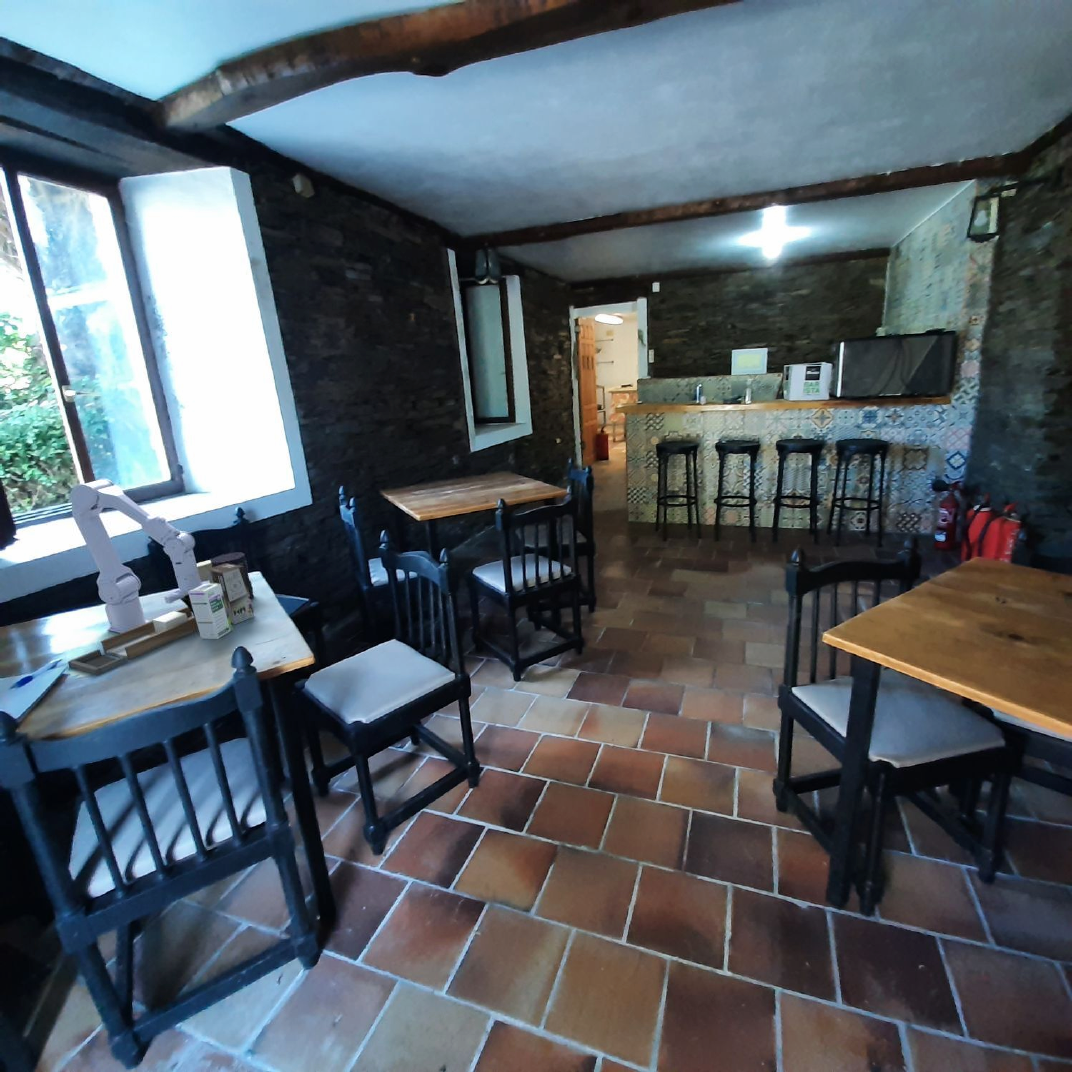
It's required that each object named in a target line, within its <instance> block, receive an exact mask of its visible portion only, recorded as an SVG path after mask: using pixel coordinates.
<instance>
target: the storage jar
mask: <svg viewBox="0 0 1072 1072" xmlns="http://www.w3.org/2000/svg"><path fill="white" fill-rule="evenodd" d="M245 555H246V554H245V553H243V552H238V551H237V552H229V553H225V554H224V553H223V554H220V555H218V556H217V555H216V556H215V557H212V558H210V560H211V563H212V568H214V567H216V566H219V565H222V564H225V563H228V564H234V565H239V566H243V569H244V573H245V578H246V582H247V586H248V591H249V595H250V599H251V601H253V599H255V595H254V591H253V590H254V589H253V585H252V581H251V580H250V577H249V576H250V575H249V566H248V563H247V560H246V556H245Z"/></svg>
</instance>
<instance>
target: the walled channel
mask: <svg viewBox="0 0 1072 1072" xmlns="http://www.w3.org/2000/svg"><path fill="white" fill-rule="evenodd" d="M175 612H180V613H185V614H186V615H187V619H188V620H187V621H185V622H183V623H180V624H178V625H176V626H173V627H171V628H169V629H166V630H164V631H161V632H159V633H156V631H155V627H154V624H153V619H151V620H149V621H150V622H147V623H145V624H142V625H140V626H137V627H135V628H132V629H130V630H127V631H125V632H122V633H118V634H115V635H112V636H111V637H108V638H105V639H103V640H101V641H100V643H101V646H102V649H103V652H104V654H108V655H111V656H115V657H118V658H121V657H123V656H125V657H126V659H127V660H129V661H131V660H134V659H136V658H137V657H140V656H142V655H144V654H146V653H149V652H151V651H154V650H155V649H158V648H160V647H162V646H165V645H167V644H169V643H171V642H174V641H175V640H178V639H180V638H182V637H184V636H185V637H186V636H187V635H189V634H191V633H193V632H196V631H199V628H198V625H197V621H196V618H195V617H194V615H193V613H192V612H191V610H190V609H189V607H188V606H187V605H186V606H185V607H183V608H180V609H178V610H175Z"/></svg>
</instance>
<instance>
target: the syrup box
mask: <svg viewBox="0 0 1072 1072" xmlns="http://www.w3.org/2000/svg"><path fill="white" fill-rule="evenodd" d="M188 593H189V597H190V600H191V604H192V607H193V611H194V614H195V618H196V621H197V625H198V628H199V629H198V632H199V635H200V638H201V639H202V640H203V639H204V640H219V639H221V638H222V637H223V636H225V635H227V634H228V633H230V632H231V631H232V632H233V630H234V629H233V626H232V623H231V621H230V618H229V614H228V610H227V606H226V603H225V599H224V595H223V591H222V588H221V584H218V583H207V584H202V585H201V586H199V587H197V588H195V589H193V590H190V591H189V592H188Z"/></svg>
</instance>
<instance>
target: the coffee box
mask: <svg viewBox="0 0 1072 1072" xmlns="http://www.w3.org/2000/svg"><path fill="white" fill-rule="evenodd" d="M207 574H208V578H209V582H210V583H218V584H221V588H222V591H223V595H224V599H225V603H226V606H227V610H228V614H229V618H230V621H231V624H234V625H236V624H239V623H242V622H244V621H246V620H249V619H251V618H254V617H255V612H254V608H253V605H252V604H253V603H252V600H251V599H250V595H249V591H248V586H247V582H246V578H245V573H244V569H243V566H239V565H234V564H228V563H225V564H222V565H219V566H216V567H214V568H211V569H208V570H207Z"/></svg>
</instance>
